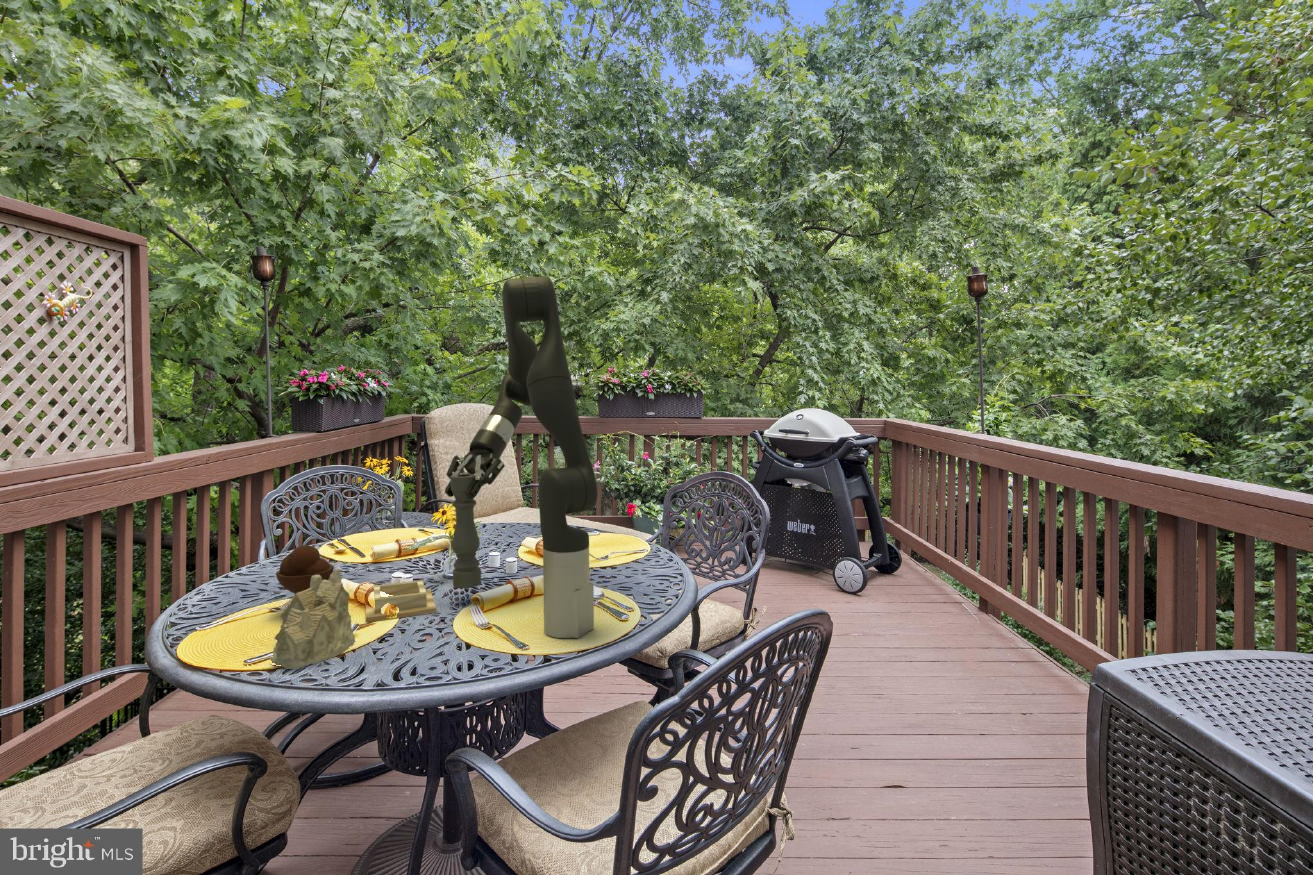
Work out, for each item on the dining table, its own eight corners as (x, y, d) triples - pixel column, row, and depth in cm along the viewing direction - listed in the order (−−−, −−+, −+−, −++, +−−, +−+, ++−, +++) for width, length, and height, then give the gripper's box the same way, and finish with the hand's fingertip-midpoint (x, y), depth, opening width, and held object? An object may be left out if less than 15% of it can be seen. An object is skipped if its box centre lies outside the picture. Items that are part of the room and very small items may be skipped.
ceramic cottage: (319, 625, 133) (313, 555, 130) (372, 644, 125) (367, 570, 122) (240, 658, 119) (232, 581, 117) (294, 681, 111) (287, 599, 109)
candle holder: (473, 589, 143) (469, 477, 141) (447, 587, 144) (443, 477, 142) (486, 580, 149) (482, 474, 147) (461, 579, 151) (457, 473, 148)
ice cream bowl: (346, 607, 144) (343, 541, 142) (299, 624, 133) (296, 553, 132) (313, 600, 148) (310, 536, 147) (266, 616, 138) (263, 547, 137)
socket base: (436, 612, 140) (435, 594, 140) (366, 622, 135) (365, 603, 134) (430, 593, 153) (429, 576, 153) (365, 601, 147) (365, 584, 147)
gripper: (461, 427, 154) (425, 483, 144) (509, 428, 147) (475, 487, 138) (476, 447, 159) (443, 503, 149) (524, 449, 153) (492, 507, 143)
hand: (458, 495), depth 144 cm, fingers closed on candle holder, 5 cm apart
